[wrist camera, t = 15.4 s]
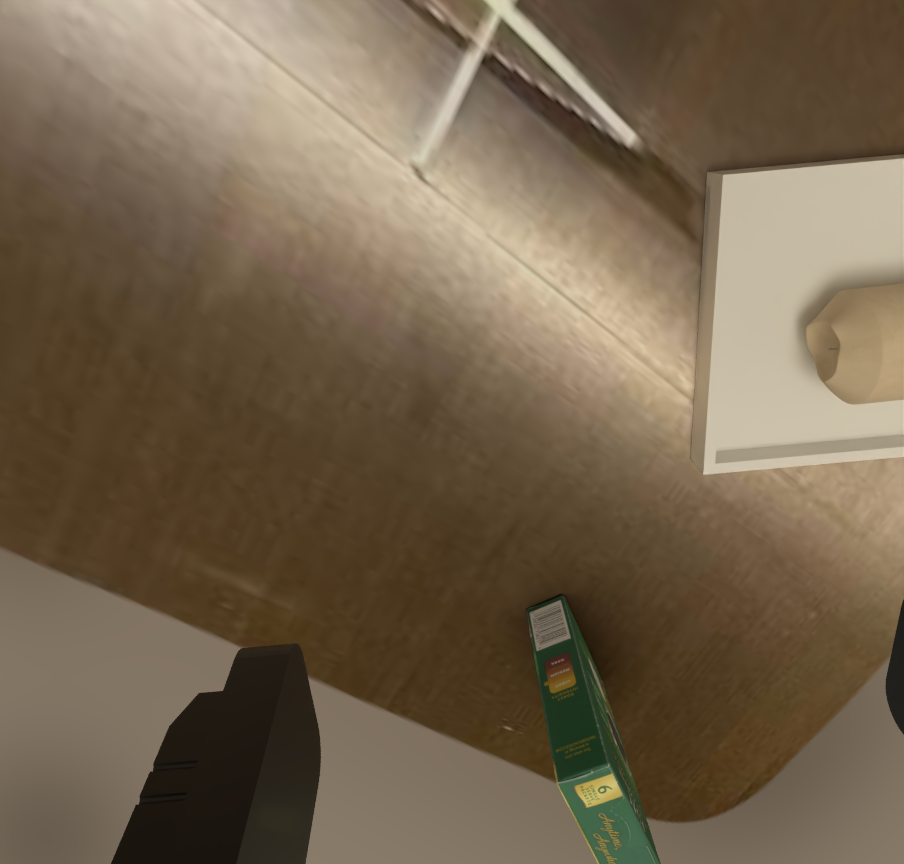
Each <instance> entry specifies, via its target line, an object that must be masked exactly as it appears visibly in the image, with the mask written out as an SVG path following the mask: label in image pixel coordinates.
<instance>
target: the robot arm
mask: <svg viewBox="0 0 904 864" xmlns="http://www.w3.org/2000/svg"><path fill="white" fill-rule="evenodd" d="M886 695H887V701H888V704H889V707H890V711H891V713H892V716H893V718H894V720H895V722H896V724H897V725H898V727H899V729H900V730H901V731H902V733H903V734H904V600H903V603H902V606H901V611H900V616H899V620H898V625H897V630H896V635H895V639H894V644H893V649H892V653H891V658H890V663H889V667H888V672H887V677H886ZM320 749H321V748H320V735H319V728H318V723H317V718H316V714H315V709H314V704H313V700H312V695H311V691H310V686H309V681H308V676H307V671H306V667H305V662H304V657H303V653H302V650H301V648H300V646H299V645H298V644H296V643H295V644H284V645H273V646H262V647H250V648H242V649H240V650H239V651H238V653H237V655H236V657H235V659H234V662H233V665H232V667H231V670H230V673H229V676H228V679H227V681H226V684H225V687H224V690H223V691H219V692H207V693H199V694H198V695H197V696H196V697H195V698H194V699H193V701H192V702H191V703H190V704H189V705H188V706H187V707H186V708H185V709H184V710H183V712H182V713H181V714H180V715H179V716H178V717H177V718H176V719H175V721H174V722H173V723H172V724H171V725H170V726H169V729H168V731H167V733H166V736H165V738H164V740H163V742H162V745H161V747H160V750H159V752H158V755H157V757H156V759H155V761H154V764H153V765H154V768H153V772H150V773H149V775H148V778H147V780H146V782H145V785H144V787H143V790H142V792H141V794H140V803H139V805H136V806H135V808H134V811H133V813H132V815H131V818H130V820H129V822H128V825H127V827H126V830H125V832H124V834H123V837H122V839H121V841H120V844H119V846H118V848H117V851H116V854H115V855H114V858H113V860H112V863H111V864H305V863H306V857H307V851H308V845H309V838H310V832H311V826H312V820H313V814H314V808H315V802H316V795H317V789H318V783H319V776H320V763H321V761H320V760H321V753H320V752H321V750H320Z"/></svg>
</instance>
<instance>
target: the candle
mask: <svg viewBox="0 0 904 864" xmlns="http://www.w3.org/2000/svg"><path fill="white" fill-rule="evenodd" d="M806 339H807V346H808V349H809V350H810V352H811V353H812V354H813V357H814V361H815V364H816V368H817V374H818V377H819V378H820V380H821V381H822V382H823V383H824V384H825V386H826V387H827V388H828V389H829V390H830V391H831V392H832V393H833V394H834V395H836V396H837V397H838V398H839V399H841V400H842V401H844V402H846V403H848V404H852V405H855V404H866V403H876V402H886V401H895V400H904V283H903V284H894V285H884V286H875V287H865V288H856V289H847V290H843V291H841V292H839V293H838V294H837V295H836V296H834V298H833V299H832V300H831V301H830V302H829V303H828V304H827V306H826V307H825V308H824V309H823V310H822V311H821V313H820V314H819V315H818V316H817V317H816V318H815V319H814V320H813V321H812V322H811V323H810V324H809V325H808V326H807V328H806Z"/></svg>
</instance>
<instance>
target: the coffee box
mask: <svg viewBox="0 0 904 864" xmlns="http://www.w3.org/2000/svg"><path fill="white" fill-rule="evenodd" d="M526 613H527V620H528V625H529V631H530V637H531V642H532V647H533V653H534V659H535V664H536V670H537V676H538V681H539V687H540V692H541V697H542V702H543V708H544V714H545V720H546V725H547V730H548V738H549V742H550V748H551V754H552V759H553V765H554V771H555V777H556V783H557V785H558V787H559V789H560V791H561V793H562V795H563V797H564V799H565V801H566V802H567V805H568V806H569V809H570V810H571V812H572V814H573V816H574V818H575V820H576V822H577V824H578V826H579V828H580V830H581V832H582V834H583V836H584V838H585V840H586V842H587V843H588V845H589V847H590V849H591V851H592V853H593V855H594V857H595V859H596V861H597V863H598V864H660V861H659V858H658V855H657V852H656V849H655V845H654V842H653V839H652V836H651V833H650V830H649V826H648V823H647V820H646V817H645V814H644V811H643V807H642V804H641V801H640V798H639V795H638V792H637V789H636V785H635V782H634V779H633V776H632V773H631V770H630V766H629V763H628V760H627V757H626V753H625V750H624V747H623V744H622V740H621V737H620V734H619V731H618V727H617V724H616V721H615V718H614V714H613V712H612V708H611V705H610V702H609V699H608V696H607V692H606V689H605V686H604V683H603V681H602V679H601V677H600V674H599V672H598V669H597V667H596V665H595V663H594V661H593V659H592V656H591V654H590V652H589V650H588V648H587V645H586V643H585V641H584V638H583V636H582V634H581V632H580V629H579V627H578V625H577V623H576V620H575V618H574V616H573V614H572V612H571V609H570V607H569V605H568V603H567V600H566V598H565V597H564V596H563V595H561V596H559V597H556V598H554V599H552V600H549V601H547V602H544V603H542V604H539V605H537V606H534V607H531V608H528V609H527V610H526Z"/></svg>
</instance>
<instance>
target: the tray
mask: <svg viewBox="0 0 904 864" xmlns="http://www.w3.org/2000/svg"><path fill="white" fill-rule="evenodd" d="M903 283H904V154H898V155H887V156H877V157H866V158H855V159H844V160H833V161H822V162H811V163H800V164H789V165H778V166H767V167H756V168H745V169H734V170H724V171H713V172H707V180H706V198H705V215H704V233H703V250H702V268H701V285H700V303H699V320H698V338H697V355H696V373H695V390H694V408H693V425H692V443H691V460H692V461H693V462H694V463H695V465H696V466H697V467H698V469H699V470H700V471H701V472H702V474H703V475H705V474H717V473H728V472H739V471H750V470H761V469H772V468H783V467H794V466H806V465H817V464H828V463H839V462H850V461H861V460H872V459H883V458H895V457H904V400H895V401H886V402H876V403H866V404H855V405H852V404H848V403H846V402H844V401H842V400H841V399H839V398H838V397H837V396H836V395H834V394H833V393H832V392H831V391H830V390H829V389H828V388H827V387H826V386H825V384H824V383H823V382H822V381H821V380H820V378H819V377H818V374H817V368H816V364H815V361H814V357H813V354H812V353H811V352H810V350H809V349H808V346H807V339H806V328H807V326H808V325H809V324H810V323H811V322H812V321H813V320H814V319H815V318H816V317H817V316H818V315H819V314H820V313H821V311H822V310H823V309H824V308H825V307H826V306H827V304H828V303H829V302H830V301H831V300H832V299H833V298H834V296H836V295H837V294H838V293H839V292H841V291H843V290H847V289H856V288H865V287H875V286H884V285H894V284H903Z"/></svg>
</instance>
